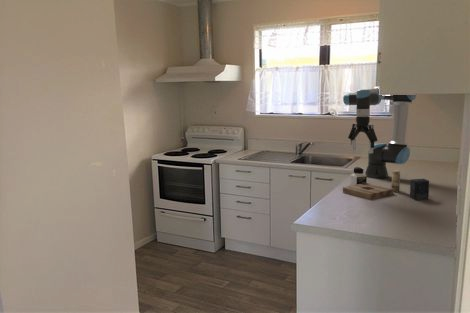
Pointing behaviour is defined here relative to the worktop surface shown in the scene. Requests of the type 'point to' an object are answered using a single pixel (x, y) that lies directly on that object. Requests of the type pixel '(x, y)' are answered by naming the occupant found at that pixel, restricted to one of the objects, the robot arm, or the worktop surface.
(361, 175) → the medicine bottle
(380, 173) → the robot arm
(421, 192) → the box
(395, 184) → the peg
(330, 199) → the worktop surface
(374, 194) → the board
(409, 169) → the worktop surface
